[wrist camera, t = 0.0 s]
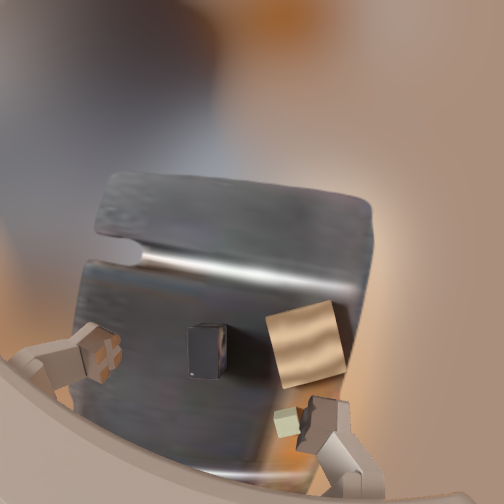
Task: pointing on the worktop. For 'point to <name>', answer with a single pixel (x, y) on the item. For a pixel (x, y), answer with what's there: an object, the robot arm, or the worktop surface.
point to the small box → (207, 351)
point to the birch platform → (306, 344)
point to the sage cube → (287, 422)
